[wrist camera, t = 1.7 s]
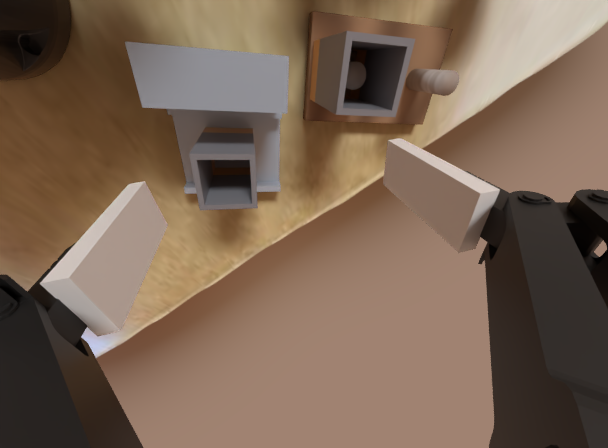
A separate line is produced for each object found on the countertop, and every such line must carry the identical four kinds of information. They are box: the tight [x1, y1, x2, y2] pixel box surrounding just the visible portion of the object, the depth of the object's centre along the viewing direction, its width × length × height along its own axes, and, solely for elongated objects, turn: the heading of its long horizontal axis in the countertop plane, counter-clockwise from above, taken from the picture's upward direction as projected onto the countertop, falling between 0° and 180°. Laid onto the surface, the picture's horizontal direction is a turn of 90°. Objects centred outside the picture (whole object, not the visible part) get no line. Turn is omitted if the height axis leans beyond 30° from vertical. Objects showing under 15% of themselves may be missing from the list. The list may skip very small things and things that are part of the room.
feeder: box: [125, 42, 289, 194], centre depth 25 cm, size 12×15×10 cm
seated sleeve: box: [310, 31, 415, 117], centre depth 23 cm, size 5×5×10 cm
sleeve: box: [189, 127, 258, 210], centre depth 26 cm, size 5×5×10 cm
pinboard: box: [303, 11, 459, 124], centre depth 26 cm, size 16×10×8 cm, turn 86°
